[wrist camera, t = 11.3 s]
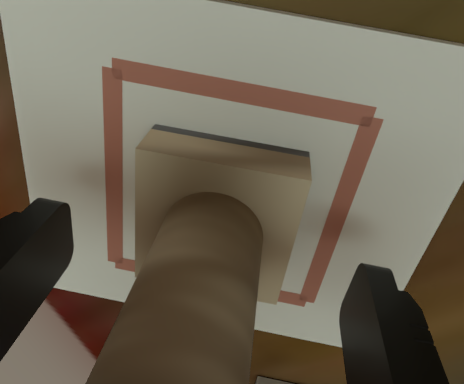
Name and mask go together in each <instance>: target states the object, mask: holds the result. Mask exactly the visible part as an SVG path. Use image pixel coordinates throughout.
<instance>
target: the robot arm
mask: <svg viewBox="0 0 464 384" xmlns="http://www.w3.org/2000/svg"><path fill="white" fill-rule="evenodd" d="M73 250H74V242H73V231H72V220H71V210H70V206H69V204H68V203H65V202H60V201H55V200H50V199H45V198H37V199H35V200H34V201H33V202H32V203H31V204H30V205H29V206H28V207H27V208H26V209H25V210H24V211H23V212H22V213H19V212H13V213H11V214H9V215H7V216H5V217H3V218H1V219H0V361H1V360H2V358H3V357H4V356H5V354H6V353H7V351H8V350H9V348H10V347H11V346H12V344H13V343H14V342H15V340H16V339H17V337H18V336H19V335H20V333H21V332H22V330H23V329H24V328H25V326H26V325H27V324H28V322H29V321H30V319H31V318H32V317H33V315H34V314H35V312H36V311H37V309H38V308H39V307H40V305H41V304H42V303H43V301H44V300H45V298H46V297H47V296H48V294H49V293H50V291H51V290H52V289H53V287H54V286H55V284H56V283H57V282H58V280H59V279H60V277H61V276H62V275H63V273H64V272H65V270H66V269H67V267H68V266H69V264H70V262H71V259H72V256H73ZM339 326H340V334H341V341H342V349H343V357H344V364H345V372H346V380H347V384H449V382H448V379H447V377H446V374H445V371H444V368H443V366H442V363H441V360H440V358H439V355H438V352H437V349H436V347H435V346H434V345H433V343H434V341H433V339H432V336H431V333H430V331H428V325H427V322H426V320H425V317H424V314H423V311H422V309H421V308H420V307H419V305H418V304H417V303H416V302H415V300H414V299H413V298H412V297H411V295H410V294H409V293H408V292H405V291H400V290H398V288H397V284H396V281H395V278H394V275H393V272H392V270H391V269H389V268H385V267H380V266H375V265H370V264H365V263H360V264H359V265H358V267H357V269H356V271H355V274H354V276H353V278H352V280H351V283H350V285H349V287H348V290H347V292H346V294H345V297H344V299H343V301H342V304H341V308H340V315H339Z"/></svg>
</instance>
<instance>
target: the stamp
mask: <svg viewBox="0 0 464 384" xmlns="http://www.w3.org/2000/svg"><path fill="white" fill-rule="evenodd" d="M311 183H312V176H311V165H310V154H309V152H308V151H302V150H297V149H291V148H286V147H280V146H274V145H269V144H263V143H258V142H252V141H247V140H241V139H236V138H230V137H225V136H219V135H214V134H208V133H203V132H197V131H191V130H186V129H180V128H175V127H169V126H164V125H158V124H155V125H154V126H153V127H152V128H151V130H150V131H149V132H148V133H147V135H146V136H145V137H144V138H143V139H142V141H141V142H140V143H139V144H138V146H137V147H136V148H135V277H137V278H136V280H135V282H134V284H133V286H132V288H131V290H130V292H129V294H128V296H127V298H126V301H125V303H124V305H123V307H122V309H121V311H120V313H119V315H118V317H117V319H116V321H115V323H114V326H113V328H112V330H111V332H110V334H109V336H108V338H107V340H106V342H105V344H104V346H103V348H102V351H101V353H100V355H99V357H98V359H97V361H96V363H95V365H94V367H93V369H92V372H91V374H90V376H89V378H88V380H87V382H86V384H249V377H250V367H251V357H252V347H253V336H254V326H255V316H256V306H257V301H259V302H264V303H269V304H274V305H277V301H278V298H279V294H280V291H281V287H282V284H283V280H284V277H285V273H286V270H287V266H288V263H289V259H290V256H291V252H292V249H293V245H294V242H295V238H296V235H297V231H298V228H299V225H300V221H301V218H302V214H303V211H304V207H305V204H306V200H307V197H308V193H309V190H310V186H311Z"/></svg>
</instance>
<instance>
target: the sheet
mask: <svg viewBox="0 0 464 384" xmlns="http://www.w3.org/2000/svg"><path fill="white" fill-rule="evenodd" d="M0 15H1V22H2V28H3V34H4V41H5V47H6V53H7V60H8V66H9V72H10V79H11V85H12V91H13V98H14V104H15V110H16V117H17V123H18V130H19V136H20V142H21V149H22V155H23V161H24V168H25V174H26V180H27V187H28V193H29V199H30V204H31V203H32V202H33V201H34V200H35V199H37V198H45V199H50V200H55V201H60V202H65V203H68V204H69V206H70V210H71V220H72V231H73V242H74V250H73V256H72V259H71V262H70V264H69V266H68V267H67V269H66V270H65V272H64V273H63V275H62V276H61V277H60V279H59V280H58V282H57V283H56V284H55V286H54V287H53V288H58V289H63V290H68V291H73V292H77V293H82V294H87V295H92V296H97V297H101V298H106V299H111V300H116V301H121V302H125V301H126V298H127V296H128V294H129V292H130V290H131V288H132V286H133V284H134V282H135V280H136V278H137V277H135V148H136V147H137V146H138V144H139V143H140V142H141V141H142V139H143V138H144V137H145V136H146V135H147V133H148V132H149V131H150V130H151V128H152V127H153V126H154V125H155V124H158V125H164V126H169V127H175V128H180V129H186V130H191V131H197V132H203V133H208V134H214V135H219V136H225V137H230V138H236V139H241V140H247V141H252V142H258V143H263V144H269V145H274V146H280V147H286V148H291V149H297V150H302V151H308V152H309V154H310V165H311V176H312V183H311V186H310V190H309V193H308V197H307V200H306V204H305V207H304V211H303V214H302V218H301V221H300V225H299V228H298V231H297V235H296V238H295V242H294V245H293V249H292V252H291V256H290V259H289V263H288V266H287V270H286V273H285V277H284V280H283V284H282V287H281V291H280V294H279V298H278V301H277V305H274V304H269V303H264V302H259V301H257V306H256V316H255V326H254V329H255V330H260V331H265V332H270V333H274V334H279V335H284V336H289V337H294V338H299V339H303V340H308V341H313V342H318V343H323V344H327V345H332V346H337V347H342V341H341V334H340V326H339V315H340V308H341V304H342V301H343V299H344V297H345V294H346V292H347V290H348V287H349V285H350V283H351V280H352V278H353V276H354V274H355V271H356V269H357V267H358V265H359V264H360V263H365V264H370V265H375V266H380V267H385V268H389V269H391V270H392V272H393V275H394V278H395V281H396V284H397V288H398V290H400V291H403V290H404V289H405V287H406V285H407V283H408V281H409V279H410V278H411V276H412V274H413V272H414V270H415V268H416V267H417V265H418V263H419V261H420V259H421V257H422V256H423V254H424V252H425V250H426V248H427V246H428V245H429V243H430V241H431V239H432V237H433V235H434V234H435V232H436V230H437V228H438V226H439V224H440V223H441V221H442V219H443V217H444V215H445V213H446V212H447V210H448V208H449V206H450V204H451V202H452V201H453V199H454V197H455V195H456V193H457V191H458V190H459V188H460V186H461V184H462V182H463V180H464V44H462V43H456V42H451V41H445V40H440V39H434V38H429V37H423V36H418V35H412V34H406V33H401V32H395V31H390V30H384V29H379V28H373V27H368V26H362V25H357V24H351V23H346V22H340V21H335V20H329V19H324V18H318V17H313V16H307V15H302V14H296V13H291V12H285V11H280V10H274V9H269V8H263V7H258V6H252V5H247V4H241V3H236V2H230V1H225V0H0Z"/></svg>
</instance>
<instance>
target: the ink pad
mask: <svg viewBox="0 0 464 384" xmlns="http://www.w3.org/2000/svg"><path fill="white" fill-rule="evenodd" d="M255 384H293V383H288V382H284V381H279V380H274V379H269V378H265V377H260V376H258V377H257V380H256V383H255Z"/></svg>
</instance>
